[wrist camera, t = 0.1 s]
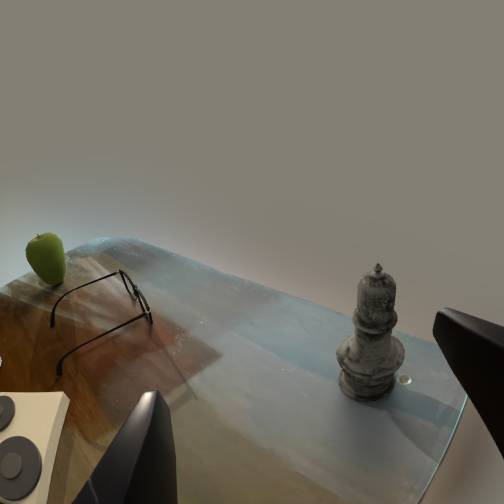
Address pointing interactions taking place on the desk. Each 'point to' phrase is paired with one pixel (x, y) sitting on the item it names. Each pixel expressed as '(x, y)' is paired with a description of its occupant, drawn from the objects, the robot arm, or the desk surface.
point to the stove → (29, 444)
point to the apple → (47, 258)
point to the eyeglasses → (135, 297)
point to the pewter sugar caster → (371, 340)
